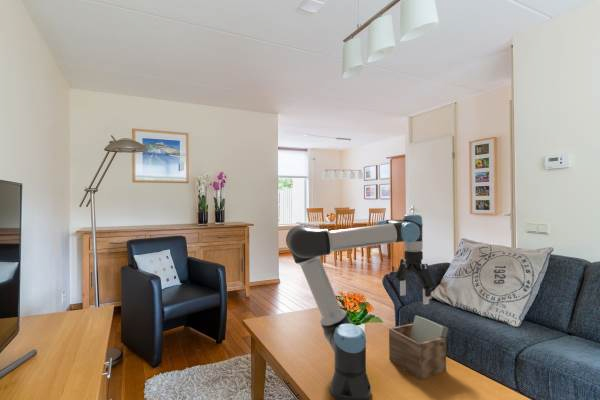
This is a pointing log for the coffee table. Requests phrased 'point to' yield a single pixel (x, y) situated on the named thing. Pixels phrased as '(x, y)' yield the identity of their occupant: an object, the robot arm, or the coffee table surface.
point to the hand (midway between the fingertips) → (414, 299)
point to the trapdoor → (426, 330)
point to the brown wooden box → (416, 353)
